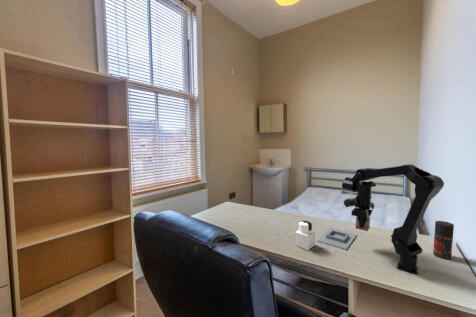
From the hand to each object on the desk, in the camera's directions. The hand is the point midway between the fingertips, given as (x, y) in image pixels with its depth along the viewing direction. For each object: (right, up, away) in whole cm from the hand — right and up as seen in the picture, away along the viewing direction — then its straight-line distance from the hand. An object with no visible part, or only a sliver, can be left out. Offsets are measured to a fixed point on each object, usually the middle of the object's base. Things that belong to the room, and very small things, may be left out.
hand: (362, 226), depth 106 cm
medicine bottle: (-27, -11, +3) cm, 29 cm away
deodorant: (+31, -11, -8) cm, 34 cm away
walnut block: (0, -1, 0) cm, 1 cm away
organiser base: (-8, -10, +10) cm, 16 cm away
